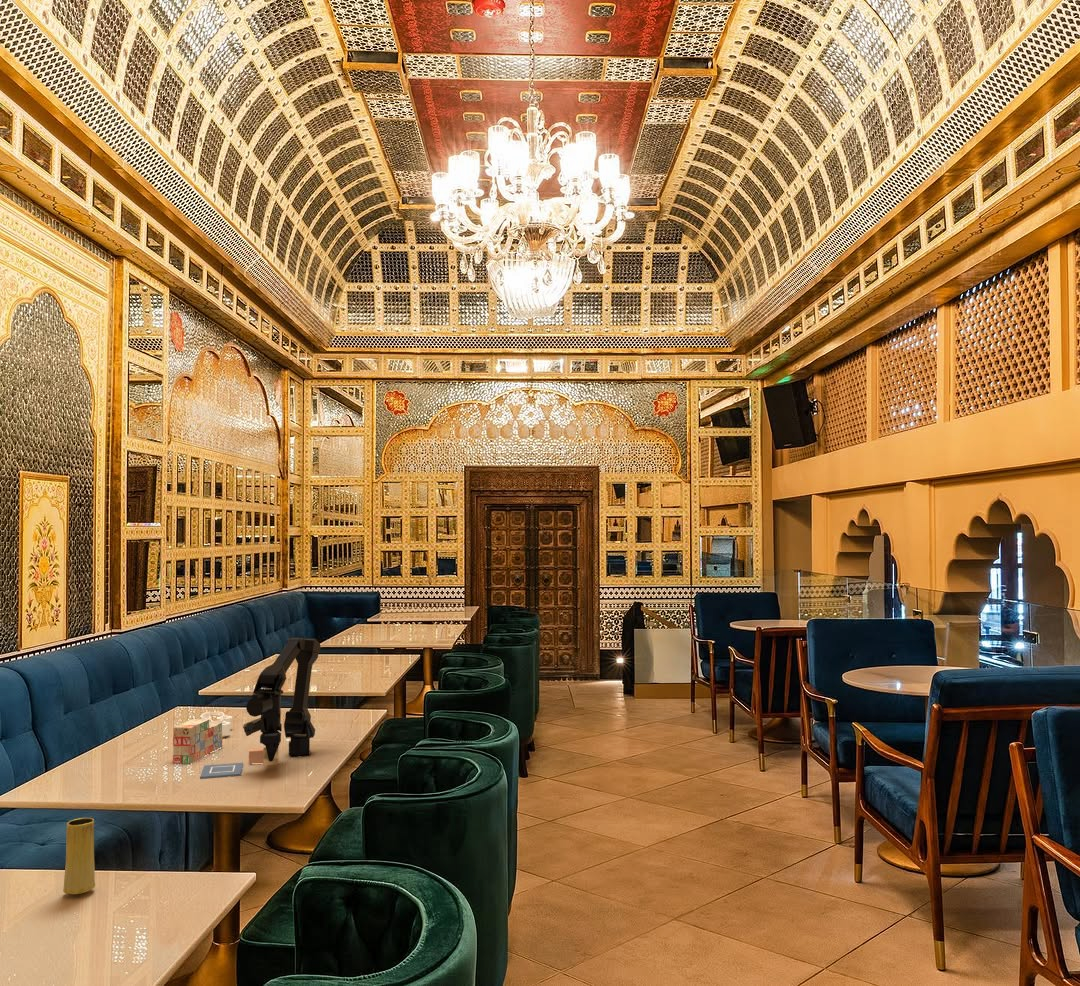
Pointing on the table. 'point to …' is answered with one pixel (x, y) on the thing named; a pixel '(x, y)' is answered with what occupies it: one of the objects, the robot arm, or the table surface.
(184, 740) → the stack of blocks
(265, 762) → the maple block
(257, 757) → the terracotta block
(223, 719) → the white piece
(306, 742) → the robot arm
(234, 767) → the board
